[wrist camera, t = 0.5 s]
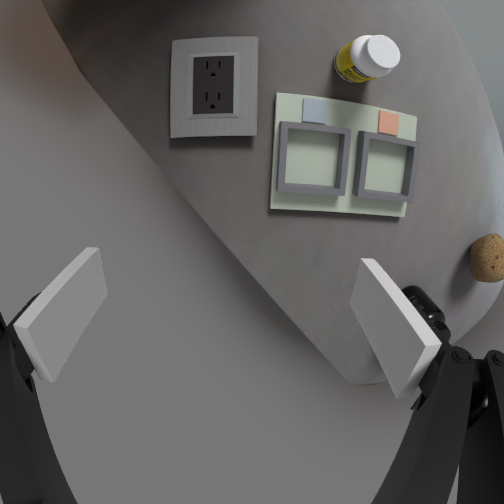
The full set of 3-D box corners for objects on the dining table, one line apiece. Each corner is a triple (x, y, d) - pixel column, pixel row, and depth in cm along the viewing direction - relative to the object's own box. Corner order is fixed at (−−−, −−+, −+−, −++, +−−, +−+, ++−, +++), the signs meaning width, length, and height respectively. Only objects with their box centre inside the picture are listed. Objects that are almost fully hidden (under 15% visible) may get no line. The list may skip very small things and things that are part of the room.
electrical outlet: (255, 135, 35) (256, 135, 33) (174, 137, 35) (169, 138, 32) (257, 41, 30) (258, 36, 27) (175, 44, 29) (171, 39, 27)
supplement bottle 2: (428, 292, 46) (462, 331, 35) (405, 320, 48) (434, 363, 37) (408, 277, 44) (444, 318, 33) (383, 307, 46) (413, 353, 35)
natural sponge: (490, 218, 40) (525, 238, 31) (488, 258, 43) (518, 282, 34) (459, 232, 41) (495, 256, 32) (458, 273, 44) (488, 301, 35)
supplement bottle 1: (330, 78, 31) (358, 65, 22) (334, 43, 29) (362, 21, 20) (368, 88, 32) (404, 80, 23) (371, 54, 30) (406, 38, 21)
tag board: (275, 93, 32) (278, 90, 29) (412, 116, 33) (424, 117, 30) (269, 206, 38) (272, 213, 35) (400, 214, 39) (410, 221, 36)
